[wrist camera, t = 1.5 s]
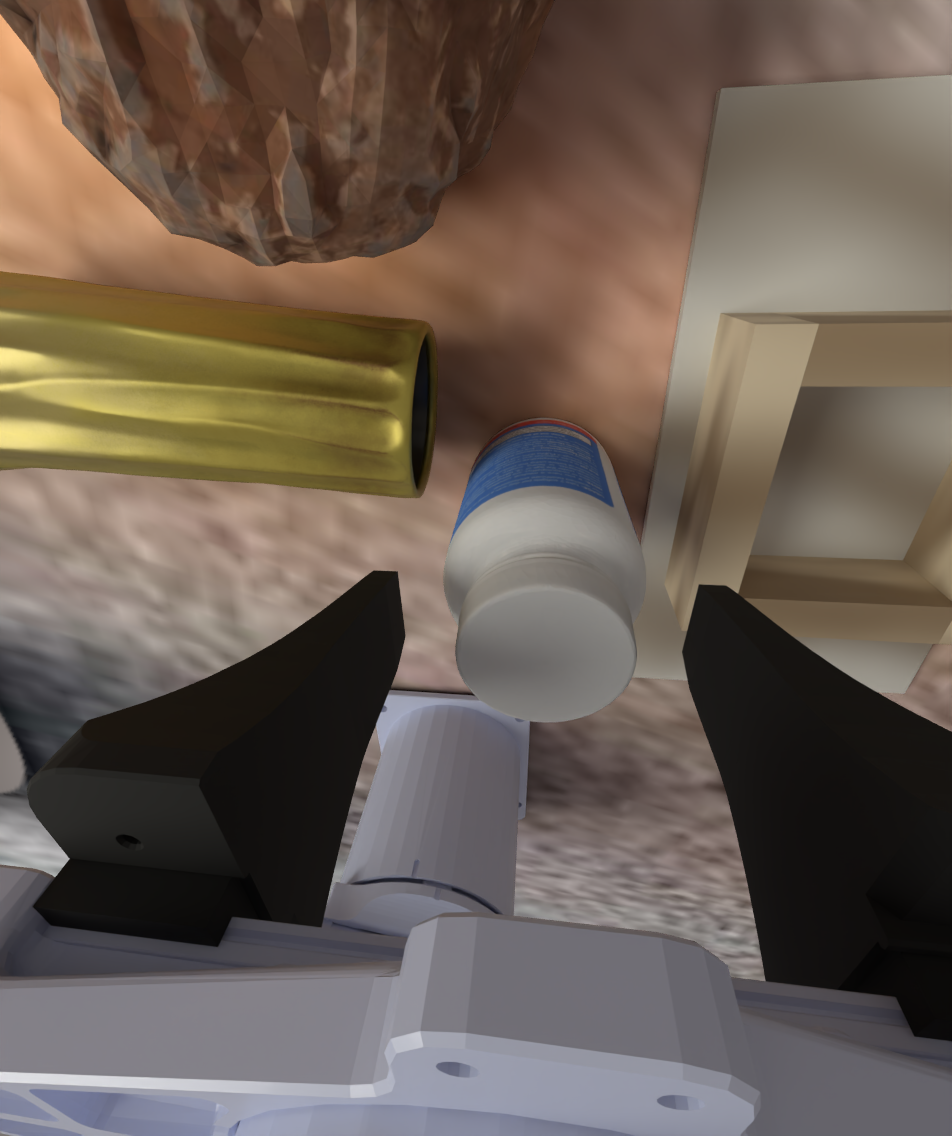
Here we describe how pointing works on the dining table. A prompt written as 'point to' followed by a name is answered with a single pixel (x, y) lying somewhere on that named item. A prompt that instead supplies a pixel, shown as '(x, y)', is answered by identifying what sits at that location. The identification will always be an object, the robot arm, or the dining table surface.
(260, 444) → the vase
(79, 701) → the dining table surface
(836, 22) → the dining table surface
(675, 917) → the dining table surface
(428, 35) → the decorative rock
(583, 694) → the pill bottle
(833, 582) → the socket block
